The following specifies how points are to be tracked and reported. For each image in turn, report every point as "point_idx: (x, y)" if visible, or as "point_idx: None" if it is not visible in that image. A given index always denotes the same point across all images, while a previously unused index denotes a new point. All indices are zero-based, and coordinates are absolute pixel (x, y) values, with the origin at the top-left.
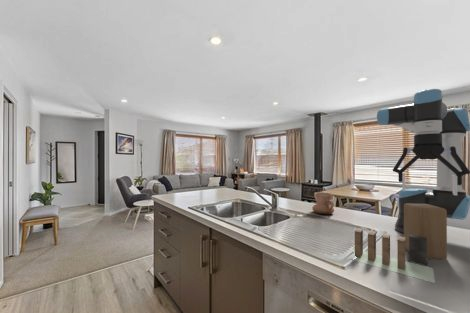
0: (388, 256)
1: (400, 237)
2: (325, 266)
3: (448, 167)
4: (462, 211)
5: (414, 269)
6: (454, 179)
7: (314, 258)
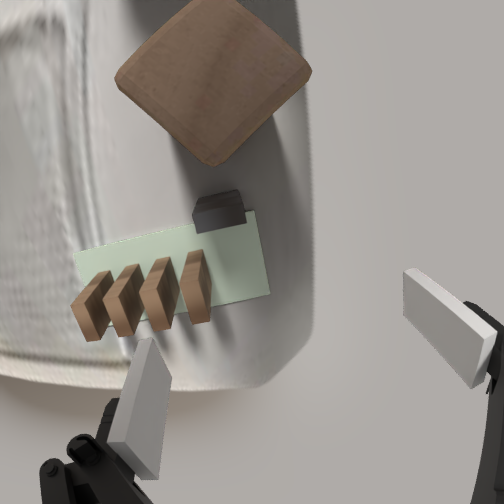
0: (176, 301)
1: (188, 293)
2: (112, 381)
3: (487, 438)
4: None
5: (225, 259)
6: (457, 372)
7: (79, 368)
